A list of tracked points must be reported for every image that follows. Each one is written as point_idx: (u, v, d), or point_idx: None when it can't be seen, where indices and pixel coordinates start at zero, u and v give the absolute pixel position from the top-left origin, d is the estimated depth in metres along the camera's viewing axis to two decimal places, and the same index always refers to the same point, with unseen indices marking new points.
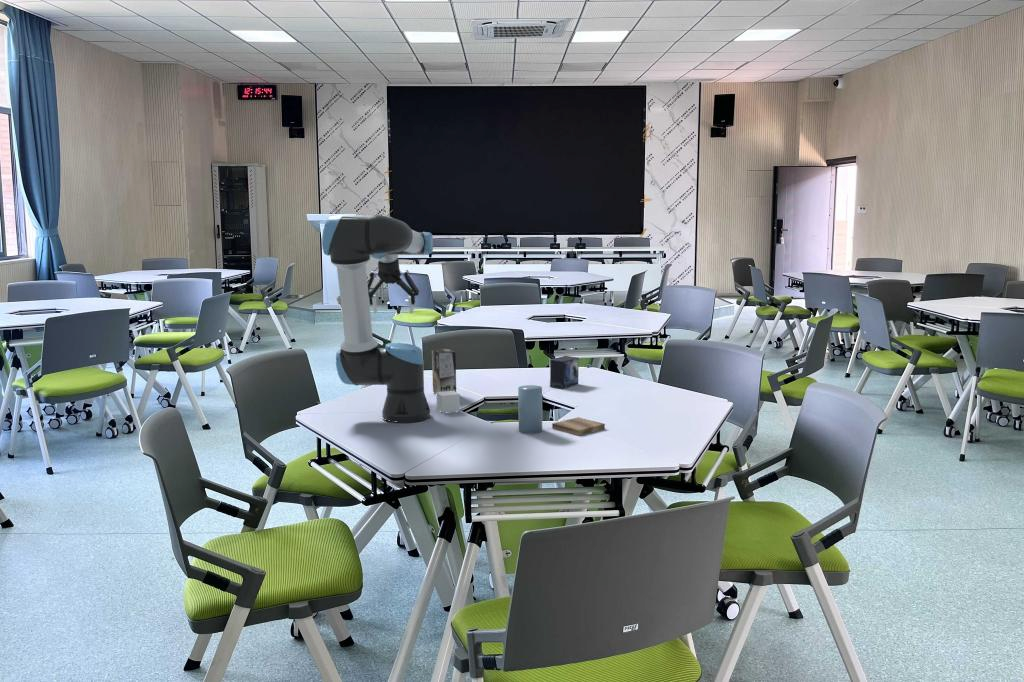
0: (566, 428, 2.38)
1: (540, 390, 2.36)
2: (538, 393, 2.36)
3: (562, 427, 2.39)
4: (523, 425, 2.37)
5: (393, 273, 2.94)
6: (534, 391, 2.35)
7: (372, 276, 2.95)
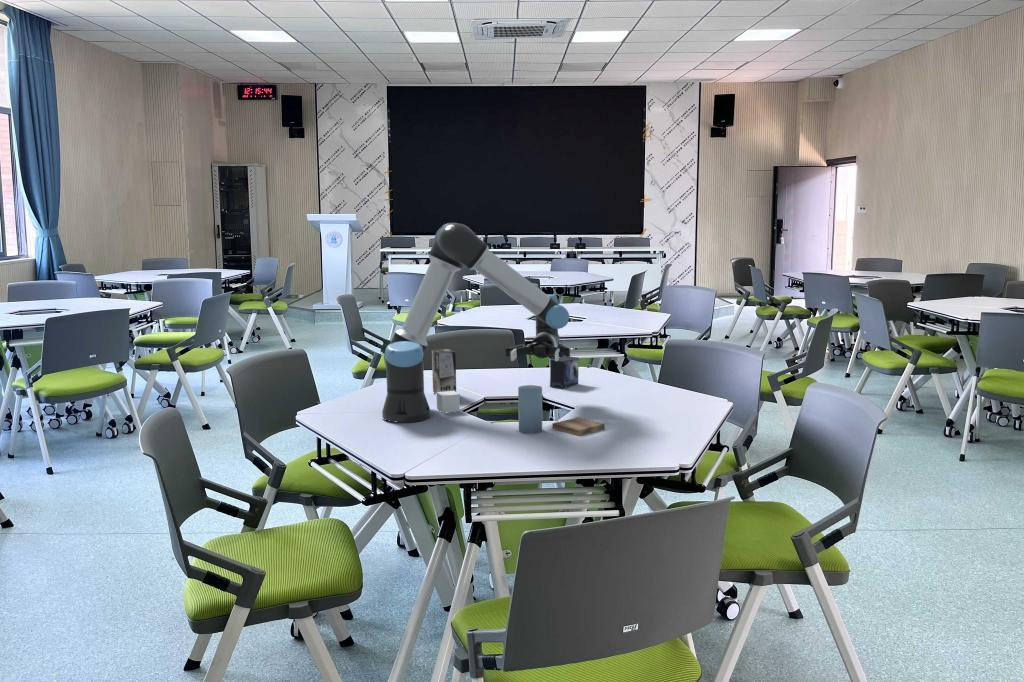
0: (566, 428, 2.38)
1: (540, 390, 2.36)
2: (538, 393, 2.36)
3: (562, 427, 2.39)
4: (523, 425, 2.37)
5: None
6: (534, 391, 2.35)
7: (521, 344, 2.62)
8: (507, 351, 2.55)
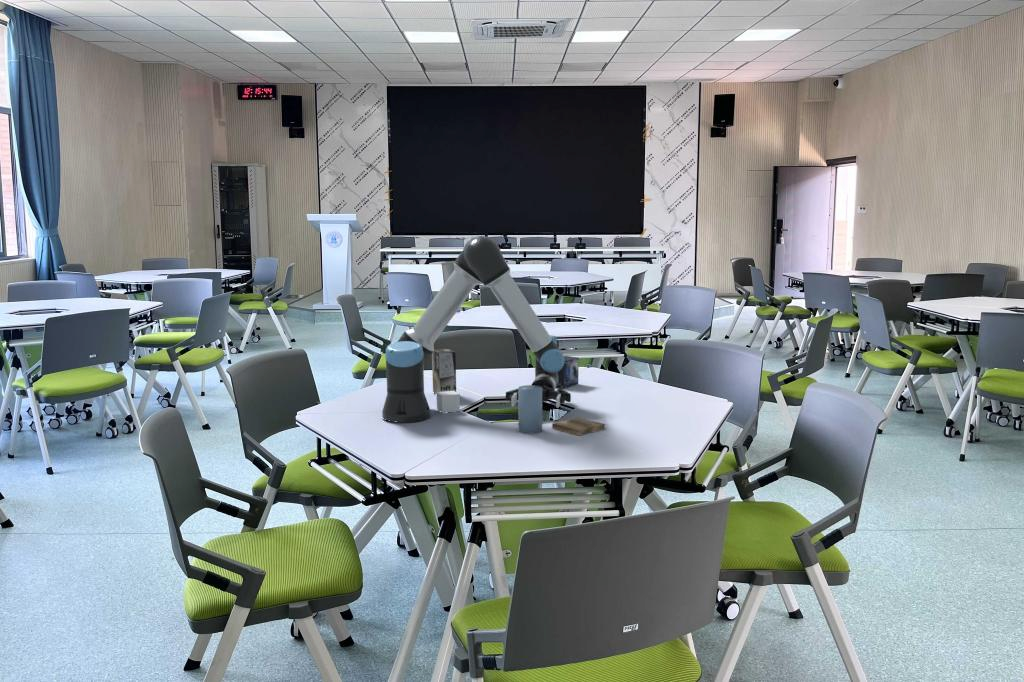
0: (566, 428, 2.38)
1: (540, 390, 2.36)
2: (538, 393, 2.36)
3: (562, 427, 2.39)
4: (523, 425, 2.37)
5: None
6: (534, 391, 2.35)
7: None
8: (507, 395, 2.52)
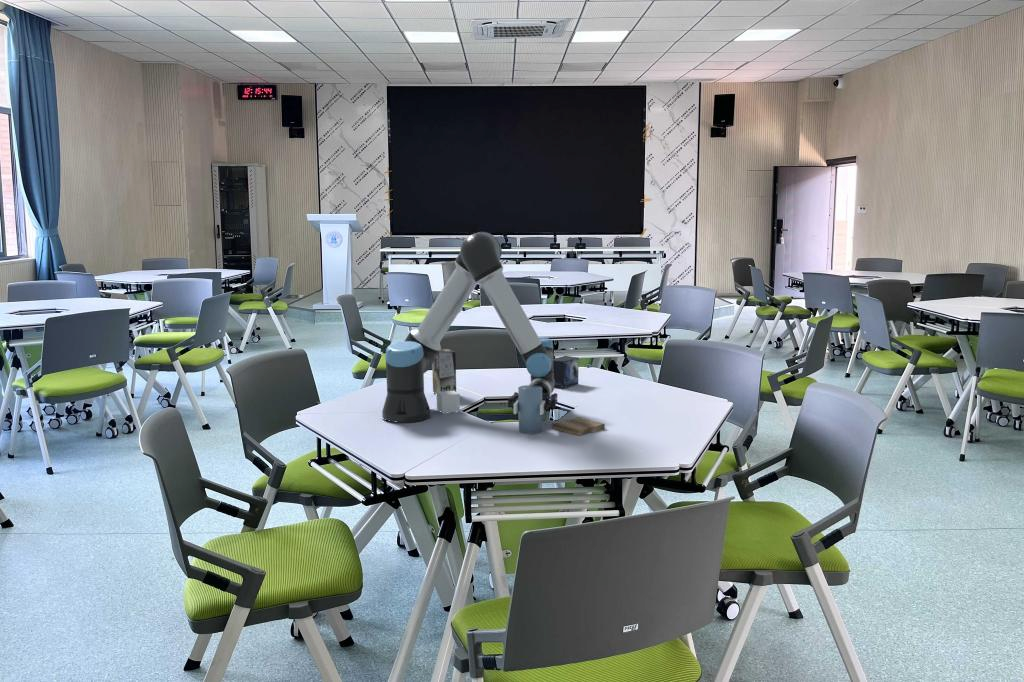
0: (566, 428, 2.38)
1: (540, 390, 2.36)
2: (538, 393, 2.36)
3: (562, 427, 2.39)
4: (523, 425, 2.37)
5: (542, 392, 2.51)
6: (534, 391, 2.35)
7: (516, 393, 2.50)
8: (510, 402, 2.42)
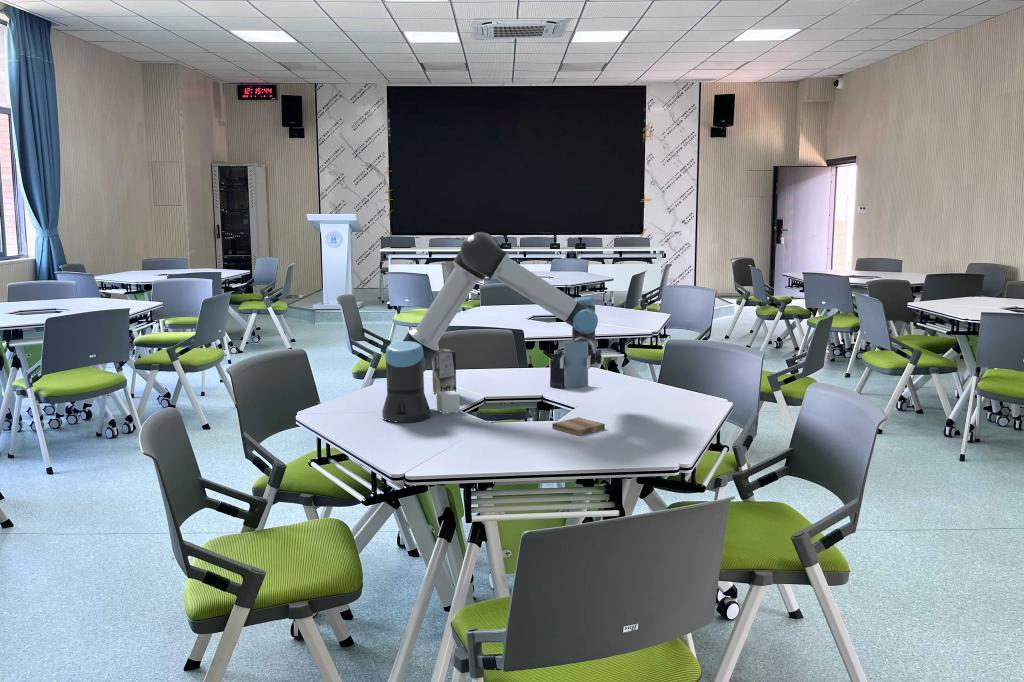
0: (566, 428, 2.38)
1: (586, 344, 2.36)
2: (584, 347, 2.35)
3: (562, 427, 2.39)
4: (569, 380, 2.37)
5: None
6: (580, 345, 2.34)
7: (560, 350, 2.50)
8: (555, 357, 2.42)
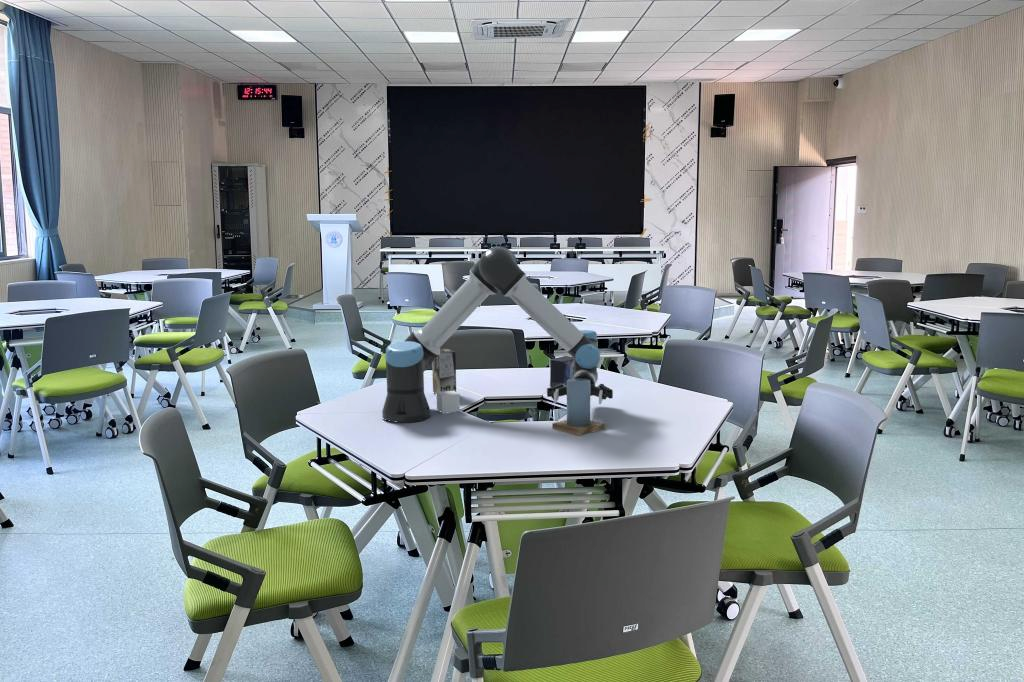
0: (566, 428, 2.38)
1: (589, 383, 2.38)
2: (587, 386, 2.37)
3: (562, 427, 2.39)
4: (571, 418, 2.39)
5: None
6: (583, 384, 2.36)
7: (562, 384, 2.52)
8: (549, 391, 2.45)
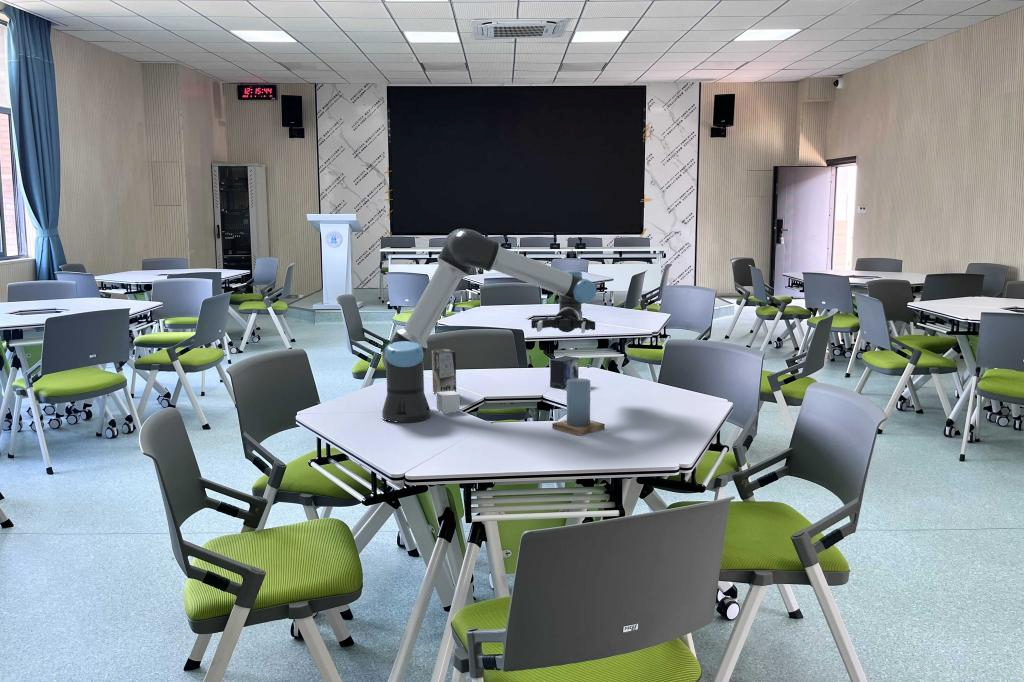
0: (566, 428, 2.38)
1: (589, 383, 2.38)
2: (587, 386, 2.37)
3: (562, 427, 2.39)
4: (571, 418, 2.39)
5: None
6: (583, 384, 2.36)
7: (546, 317, 2.64)
8: (533, 323, 2.57)
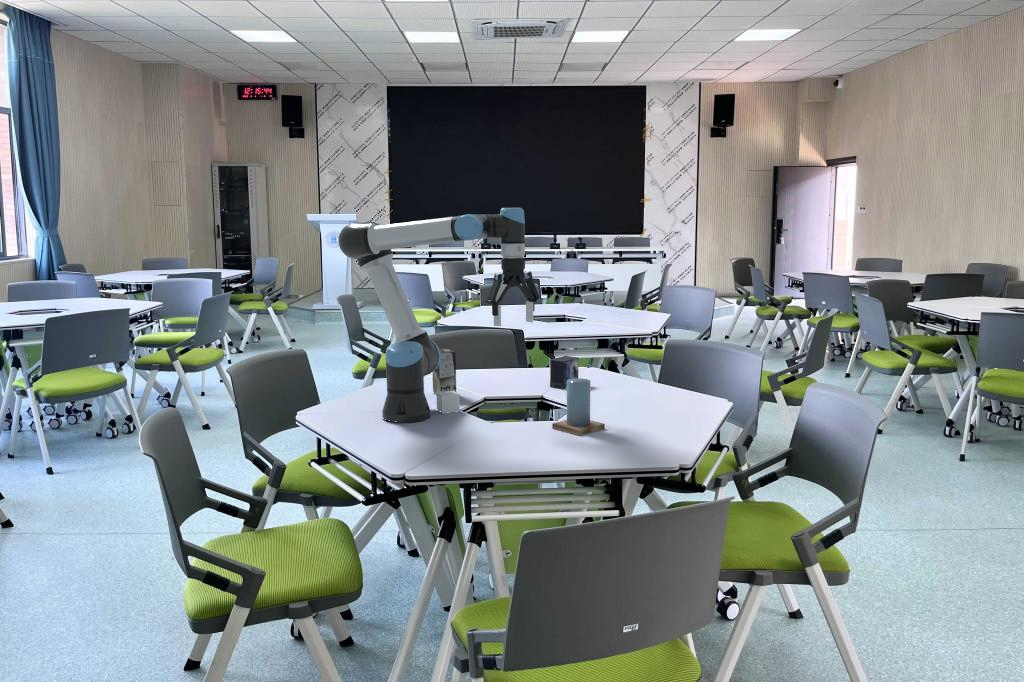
0: (566, 428, 2.38)
1: (589, 383, 2.38)
2: (587, 386, 2.37)
3: (562, 427, 2.39)
4: (571, 418, 2.39)
5: None
6: (583, 384, 2.36)
7: None
8: None
